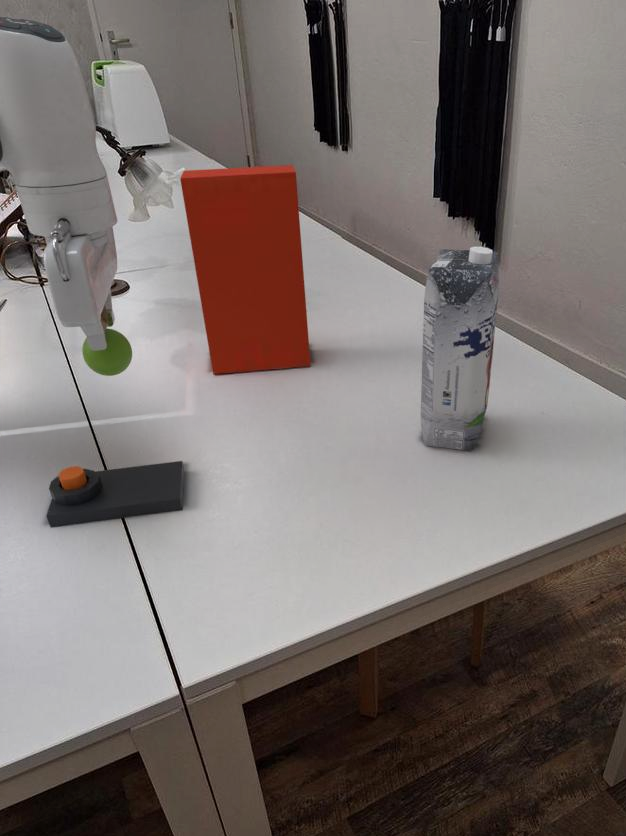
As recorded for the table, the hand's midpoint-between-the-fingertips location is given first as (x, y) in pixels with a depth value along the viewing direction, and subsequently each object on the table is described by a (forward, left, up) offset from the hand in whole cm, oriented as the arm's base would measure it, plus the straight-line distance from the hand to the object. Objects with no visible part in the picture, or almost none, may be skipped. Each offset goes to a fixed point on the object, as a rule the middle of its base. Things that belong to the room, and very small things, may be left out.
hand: (103, 335), depth 76 cm
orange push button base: (-3, -2, -21) cm, 22 cm away
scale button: (-8, -3, -18) cm, 20 cm away
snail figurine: (0, 0, -5) cm, 5 cm away
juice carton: (+44, +3, -21) cm, 49 cm away
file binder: (+18, +36, -21) cm, 46 cm away
